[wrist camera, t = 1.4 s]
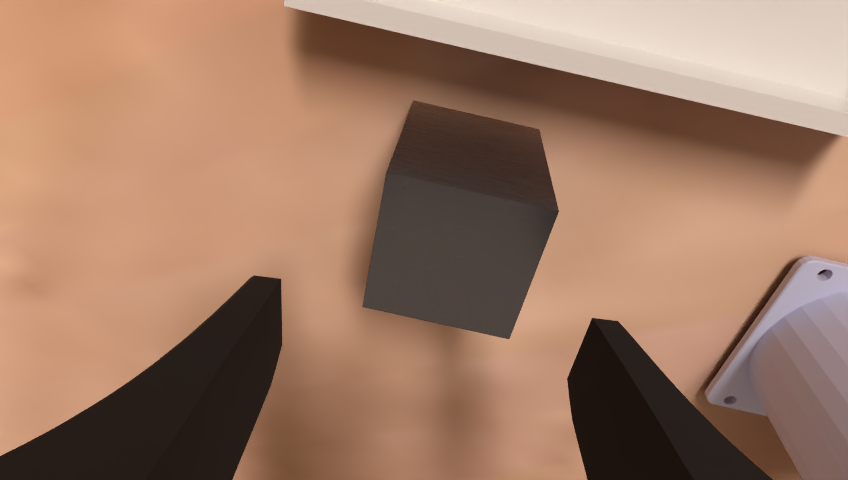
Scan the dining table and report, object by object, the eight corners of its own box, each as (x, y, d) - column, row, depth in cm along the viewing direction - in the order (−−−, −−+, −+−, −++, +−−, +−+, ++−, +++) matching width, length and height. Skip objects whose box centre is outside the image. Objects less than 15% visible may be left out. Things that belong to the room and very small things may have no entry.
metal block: (539, 129, 19) (558, 211, 14) (503, 235, 21) (509, 339, 16) (413, 100, 19) (386, 172, 14) (392, 210, 21) (362, 306, 16)
